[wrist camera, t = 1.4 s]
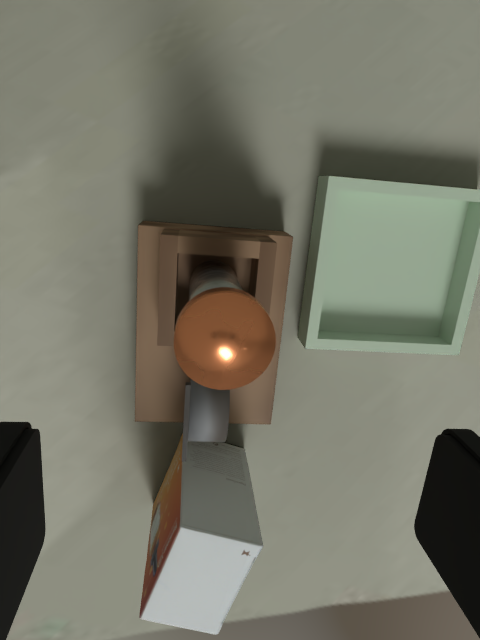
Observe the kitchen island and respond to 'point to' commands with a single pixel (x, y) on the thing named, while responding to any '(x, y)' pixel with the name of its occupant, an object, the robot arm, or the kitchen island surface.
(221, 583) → the small box
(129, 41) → the kitchen island surface
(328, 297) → the tray
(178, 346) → the lock pin
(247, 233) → the brown wooden stepped holder
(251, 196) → the kitchen island surface
